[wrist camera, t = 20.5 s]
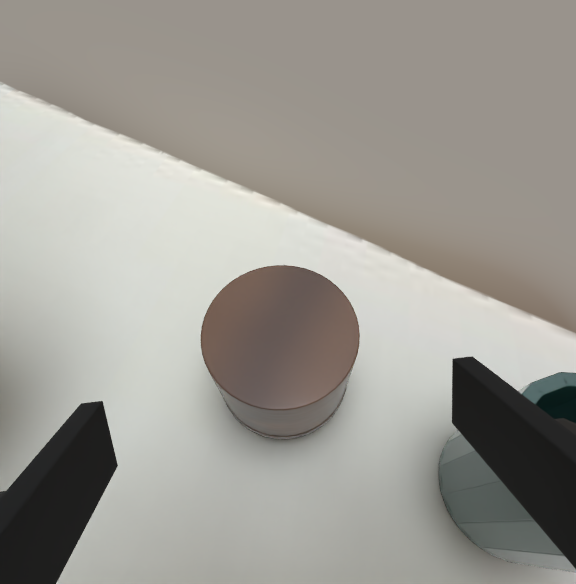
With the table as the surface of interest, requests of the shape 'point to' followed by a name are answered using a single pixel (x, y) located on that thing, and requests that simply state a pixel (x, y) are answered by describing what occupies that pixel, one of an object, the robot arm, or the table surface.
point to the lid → (281, 349)
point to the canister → (503, 489)
